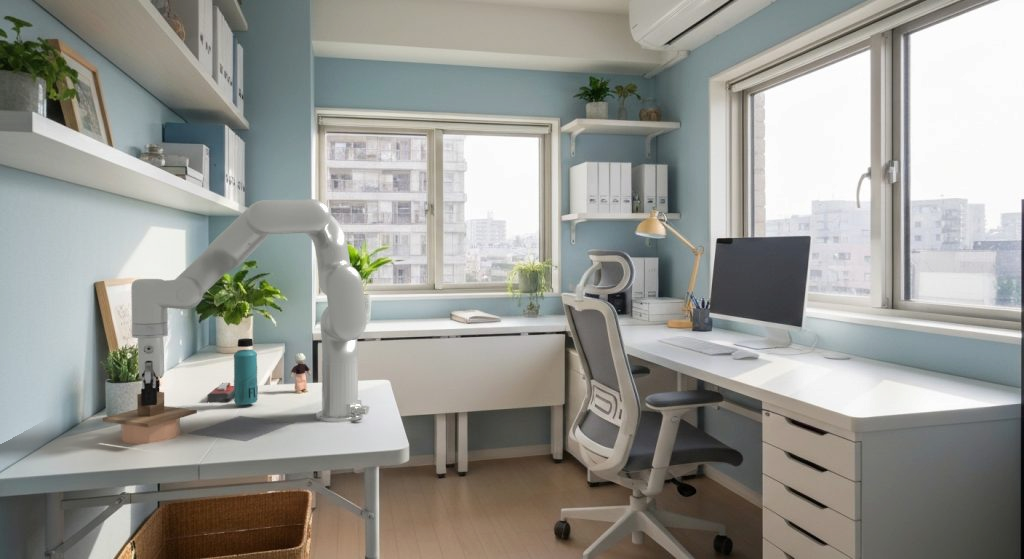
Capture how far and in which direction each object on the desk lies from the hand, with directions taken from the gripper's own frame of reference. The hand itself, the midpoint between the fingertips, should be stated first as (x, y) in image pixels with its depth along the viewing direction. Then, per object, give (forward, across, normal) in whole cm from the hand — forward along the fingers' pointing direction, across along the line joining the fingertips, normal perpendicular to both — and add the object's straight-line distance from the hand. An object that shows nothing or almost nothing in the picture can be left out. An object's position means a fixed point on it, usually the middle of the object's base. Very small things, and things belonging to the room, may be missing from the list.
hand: (150, 400), depth 154 cm
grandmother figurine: (+9, +38, -40) cm, 56 cm away
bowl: (+9, 0, 0) cm, 9 cm away
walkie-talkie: (+10, +42, -19) cm, 47 cm away
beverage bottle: (+9, +24, -23) cm, 34 cm away
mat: (+9, -1, -20) cm, 22 cm away
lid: (+4, 0, 0) cm, 4 cm away
